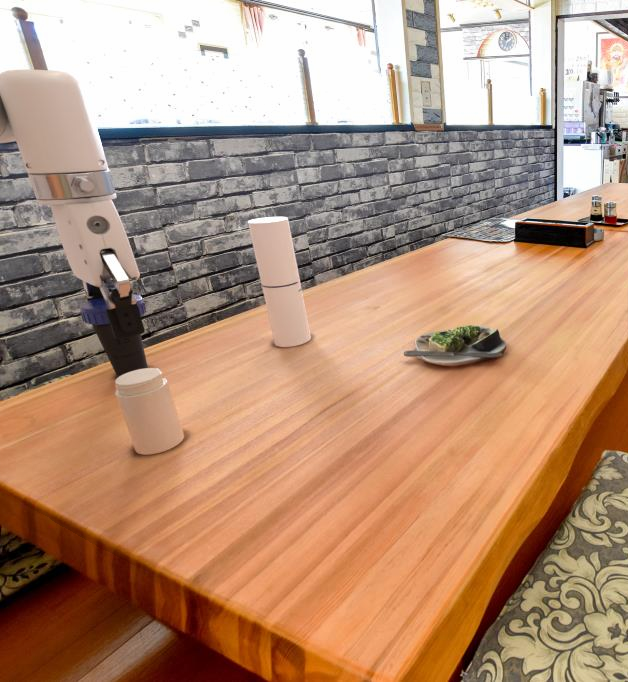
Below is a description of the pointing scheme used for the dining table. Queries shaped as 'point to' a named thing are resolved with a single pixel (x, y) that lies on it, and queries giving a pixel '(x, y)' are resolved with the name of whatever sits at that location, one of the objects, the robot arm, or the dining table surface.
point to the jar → (148, 411)
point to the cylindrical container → (280, 280)
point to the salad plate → (459, 346)
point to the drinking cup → (122, 350)
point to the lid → (103, 310)
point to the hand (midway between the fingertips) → (120, 328)
